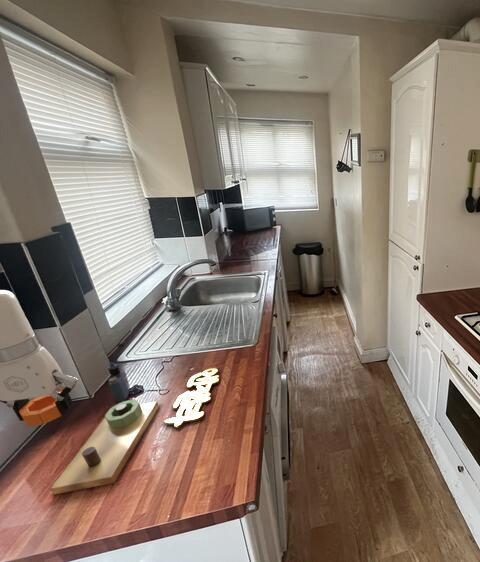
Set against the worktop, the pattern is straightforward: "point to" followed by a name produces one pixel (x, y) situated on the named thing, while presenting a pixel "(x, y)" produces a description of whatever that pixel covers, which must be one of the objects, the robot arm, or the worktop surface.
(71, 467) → the peg board
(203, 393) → the lettering
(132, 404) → the green ring
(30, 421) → the orange ring
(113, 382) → the vaping device
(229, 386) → the worktop surface
